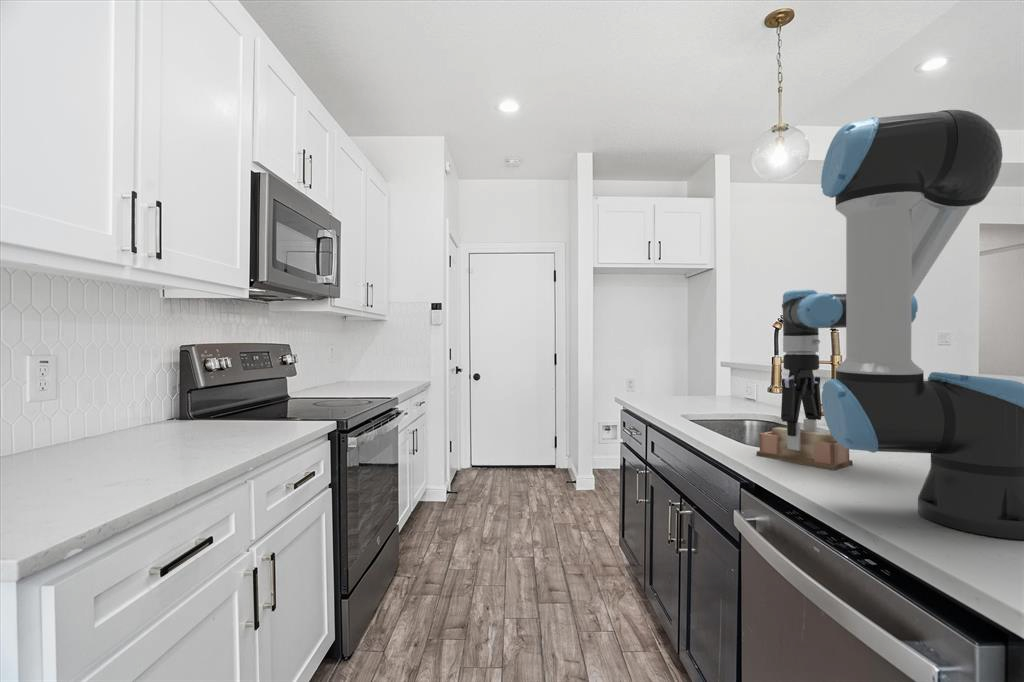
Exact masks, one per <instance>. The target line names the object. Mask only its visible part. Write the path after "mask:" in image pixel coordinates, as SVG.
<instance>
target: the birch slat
mask: <svg viewBox="0 0 1024 682" xmlns="http://www.w3.org/2000/svg"><path fill="white" fill-rule="evenodd" d="M771 431H772V435H778V436H779V453H782V454H787V455H793V456H799V457H804V458H810V459H814V442H816V441H818V442H825V443H831V444H833V443H838V442H837V441H836V440H835V439H834V438H833V436H832V435H831V433H825V432H819V431H818V432H812V431H804V429H803V430H802V429H800V443H801V450H800V451H798V450H792V449H787V427H781V426H776V427H772V428H771Z"/></svg>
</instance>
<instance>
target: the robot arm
mask: <svg viewBox="0 0 1024 682" xmlns="http://www.w3.org/2000/svg"><path fill="white" fill-rule="evenodd" d="M1002 161H1003V147H1002V142H1001V137H1000V135H999V133H998V132H997V131H996V128H995V127H994V126H993V125H992V124H991V123H990V122H989V121H988V120H987V119H986V118H984V117H982V116H981V115H979V114H978V113H974V112H972V111H970V110H963V109H945V110H939V111H934V112H922V113H913V114H902V115H894V116H893V115H892V116H882V117H878V116H874V117H871V118H868V119H862V120H855V121H851V122H848V123H845V124H844V125H843V126H841V128H839V129H838V130H837V132H836V133H835V135H834V136H833V138H832V140H831V142H830V144H829V146H828V149H827V151H826V154H825V158H824V161H823V166H822V170H821V184H820V185H821V189H822V194H823V195H824V196H825V197H829V198H830V199H831V198H832V199H833V198H835V199H834V200H835V211H837V212H839V213H840V214H841V215H843V216H844V217H845V218H846V219H845V223H846V226H845V227H846V228H845V230H846V231H845V232H846V233H845V234H846V236H845V240H846V242H845V243H846V244H845V246H846V249H845V250H846V253H845V255H846V258H845V259H846V261H845V263H846V265H845V266H846V267H845V268H846V270H845V271H846V273H845V277H846V278H845V279H846V284H845V285H846V286H845V287H846V289H845V290H846V291H845V292H846V293H827V292H818V291H817V290H814V289H797V290H788V291H785V292H784V293H783V294H782V304H781V308H782V335H783V337H782V351H783V353H785V354H783V357H782V358H783V359H782V360H783V365H782V366H783V369H784V370H787V371H789V373H788V377H787V378H781V388H782V391H781V392H782V393H781V411H780V419H781V421H782V422H786V428H787V449H792V450H798V451H800V450H801V443H800V430H801V422H799V415H800V411H801V405H802V408H803V412H804V416H805V418H803V420H802V421H803V430H804V431H812V432H817V430H818V428H817V424H818V423H817V421H818V420H819V421H821V420H822V414H823V416H824V420H825V423H826V426H827V429H828V430H829V432H830V433H829V434H831V435H832V436H833V438H834V439H835V440H836V441H837V442H838V443H839V444H840V445H841V446H843V447H845V448H847V449H849V450H853V451H865V452H870V453H874V454H875V453H877V452H882V453H883V452H885V453H887V452H888V453H905V454H907V453H909V454H913V453H914V454H930V469H929V470H928V473H927V475H926V477H925V479H924V482H923V485H922V487H921V489H920V492H919V495H918V496H917V497H918V498H917V512H918V515H920V516H922V517H923V518H925V519H927V520H929V521H932V522H934V523H937V524H939V525H942V526H946V527H948V528H951V529H955V530H958V531H963V532H968V533H972V534H976V535H983V536H986V537H987V536H988V537H994V538H999V539H1000V538H1002V539H1010V540H1024V383H1022V382H1021V381H1017V380H1012V379H1003V378H997V377H996V378H994V377H985V376H976V375H967V374H957V373H949V372H939V371H938V372H936V371H932V372H930V373H929V376H928V377H927V380H924V377H925V376H924V370H923V369H922V368H921V367H920V366H918V365H917V364H916V363H915V362H914V361H913V360H912V323H913V322H914V321H915V320H916V318H917V312H918V308H919V307H918V301H917V299H916V296H915V293H916V292H917V290H918V289H919V287H920V286H921V284H922V282H923V281H924V280H925V278H926V276H927V275H928V273H929V272H930V270H931V269H932V267H933V266H934V264H935V262H936V261H937V259H938V258H939V256H940V255H941V253H942V252H943V250H944V249H945V247H946V245H947V244H948V243H949V241H950V239H951V238H952V236H953V234H955V231H956V230H957V229H958V227H959V226H960V224H961V222H962V220H963V219H964V218H965V216H966V214H968V212H969V210H970V208H972V207H973V206H977V205H978V204H980V203H982V202H983V201H984V200H985V199H986V197H987V196H988V194H989V193H990V192H991V190H992V188H993V187H994V185H996V184H995V183H996V181H997V179H998V178H999V175H1000V171H1001V168H1002ZM838 328H839V329H840V328H841V329H842V328H846V331H845V332H846V333H845V335H846V336H845V339H846V340H845V343H846V345H845V349H846V350H845V351H846V352H845V353H846V354H845V357H846V358H845V359H844V360H843V361H842V362H841V363H840V364H839V365H838V366H837V367H835V378H831V379H828V380H827V381H825V382H824V383H823V385H822V391H821V387H820V386H821V377H820V376H815V375H814V371H817V370H819V369H820V355H818V354H817V353H818V352H820V349H819V344H820V343H821V340H820V339H819V335H820V333H819V329H838ZM822 412H823V413H822Z"/></svg>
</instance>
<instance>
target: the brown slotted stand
mask: <svg viewBox="0 0 1024 682" xmlns="http://www.w3.org/2000/svg"><path fill="white" fill-rule="evenodd" d="M758 436H759V451H761V452H767V453H772V454H779V436H778V435H772V430H771V431H766V432H760V433H759V435H758ZM849 460H850V449H847V448H845V447H843V446H841V445H840V444H839V443H833V444H831V443H825V442H818V441H816V442H814V461H816V462H821V463H827V464H832V465H837V464H841V463H844V462H848V461H849Z"/></svg>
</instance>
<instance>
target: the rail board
mask: <svg viewBox="0 0 1024 682" xmlns="http://www.w3.org/2000/svg"><path fill="white" fill-rule="evenodd" d="M755 454H756V456H757V457H761V458H762V457H763V458H767V459H771V460H772V459H773V460H777V461H784V462H787V463H793V464H798V465H804V466H809V467H810V466H811V467H814V468H821V469H825V470H828V471H829V470H830V471H837V470H840V469H843V468H846V467H849V466H854V465H853V460H851V459H849V461H848V462H844V463H841V464H837V465H832V464H827V463H821V462H816V461H814V459H810V458H804V457H799V456H793V455H787V454H782V453H779V454H772V453H767V452H761V451H760V450H757V451H756V453H755Z"/></svg>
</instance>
